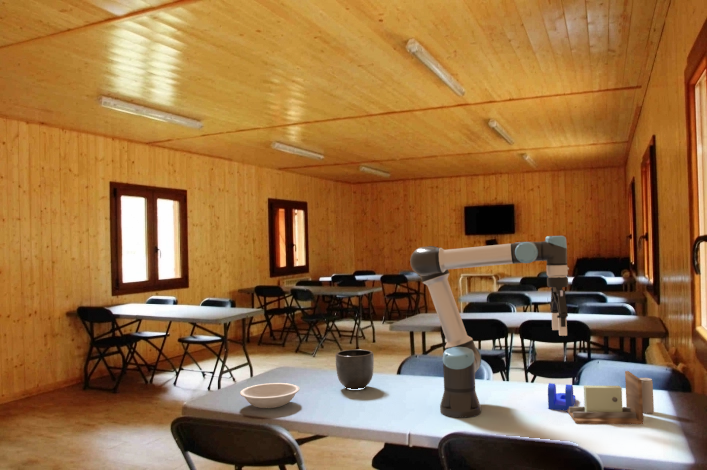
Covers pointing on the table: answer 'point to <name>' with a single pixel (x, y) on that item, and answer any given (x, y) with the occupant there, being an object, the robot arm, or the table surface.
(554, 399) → the bracket
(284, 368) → the table surface
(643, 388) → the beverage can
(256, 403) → the soup bowl
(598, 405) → the door panel
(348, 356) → the planter
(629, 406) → the wooden l-shaped piece
